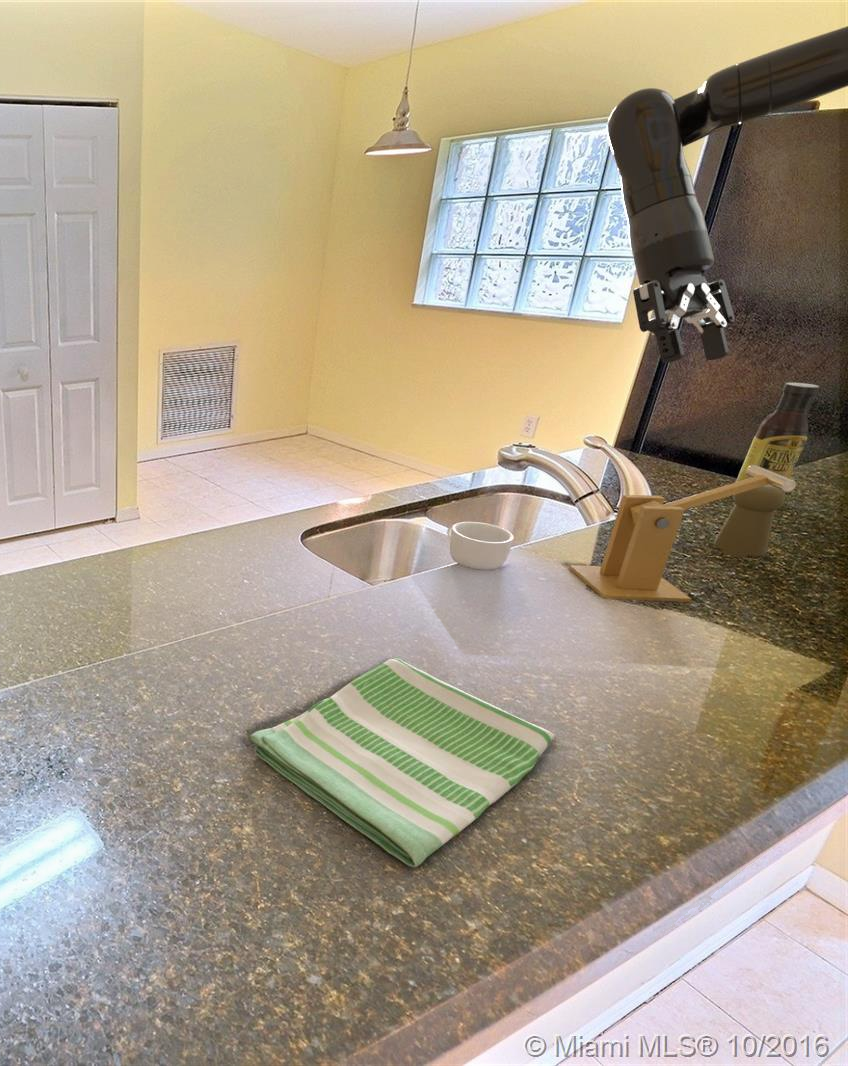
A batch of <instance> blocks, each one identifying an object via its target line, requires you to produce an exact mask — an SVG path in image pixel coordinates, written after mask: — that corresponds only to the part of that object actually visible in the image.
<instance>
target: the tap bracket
mask: <svg viewBox="0 0 848 1066" xmlns="http://www.w3.org/2000/svg"><path fill="white" fill-rule="evenodd" d="M654 500H655V501H657V502H658V503H660V504H662V505H664V502H665V500H666V498H665V497H663V496H662V495H645V494H644V495H643V494H642V495H641V494H635V495H634V494H623V495H622V497H621V500H620V503H619V507H618V510H617V513H616V517H615V519H614V523H613V526H612V530H611V533H610V536H609V538H608V543H607V546H606V548H605V549H606V550H605V553H604V556H603V559H602V563H601V566H600V565H577V564H576V565H575V564H570V565H569V567H568V569H569V570H570V571H571V572H572V573H573V574H574V575H576V576H577V577H578V578H579V579H581V580H582V581H583V582H584V583H585V584H586V585H587V586H589V587H590V588H591V589H592V590H593V591H594V592H595V593H596V594H598V595H599V596H600V597H601V598H602V599H605V600H606V599H608V600H609V599H610V600H633V601H653V602H654V601H657V602H678V603H679V602H680V603H691V601H692V598H691V597H690V596H688V595H687V594H686V593H684V592H683V591H681V590H680V589H679V588H678V587H676V586H674V585H673V584H672V583H671V582H669V580H666V579H665V578H663V574H664V572H665V569H666V566H667V563H668V560H669V557H670V554H671V551H672V549H673V546H674V543H675V540H676V536H677V534H678V531H679V528H680V525H681V523H682V519H683V516H684V513H685V511H686V510H685V509H683V508H681V507H667V506H641V508H640V511H639V515H638V518H637V521H636V524H634V523H633V518H632V514H631V509H630V508H631V507H635V506H638V505H641V504H644V503H647V502H651V501H654Z"/></svg>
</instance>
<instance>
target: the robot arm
mask: <svg viewBox="0 0 848 1066" xmlns="http://www.w3.org/2000/svg"><path fill="white" fill-rule="evenodd" d="M847 87H848V25H847V26H844V27H840V28H837V29H835V30H832V31H829V32H826V33H822V34H819V35H816V36H813V37H810V38H807V39H804V40H801V41H797V42H794V43H792V44H789V45H786V46H783V47H780V48H777V49H774V50H771V51H769V52H767V53H763V54H760V55H758V56H755V57H752V58H750V59H747V60H744V61H741V62H739V63H737V64H736V63H735V64H732V65H730V66H728V67H725V68H723V69H720V70H718V71H717V72H716V71H715V72H714V73H713V74H711V75H710V76H708V77H707V78H706V79H705V81H704V82H703V83H702V85H701V86H700V87H698V88H697V89H695V90H693V91H689V92H688V93H686V94H683V95H680V96H679V97H677V98H675V99H674V98H673V96H672V95H671V94H670V93H669V92H667V91H666V90H663V89H660V88H657V87H650V88H649V87H647V88H641V89H639V90H636V91H634V92H631V93H630V94H627V96H625V97H624V98H623V99H622V100H621V101H619V102H618V104H617V105H616V106H615V107H614V109H613V110H612V112H611V114H610V116H609V118H608V121H607V125H606V133H607V138H608V141H609V142H608V143H609V146H610V150H611V152H612V155H613V157H614V160H615V161H614V162H615V164H616V167H617V171H618V173H619V177H620V183H621V195H622V203H623V207H624V212H625V217H626V220H627V226H628V240H629V245H630V250H631V254H632V257H633V262H634V266H635V270H636V276H637V280H638V283H639V285H640V286H638V287H636V288H633V290H632V294H633V299H634V304H635V310H636V315H637V321H638V326H639V330H640V331H641V332H642V333H646V332H650V335H651V336H652V337H655V338H656V343H657V347H658V351H659V355H660V359H661V360H660V361H661V362H662V363H663V364H668V363H673V362H677V361H680V360H682V359H683V358H684V357H685V351H684V347H683V341H682V338H681V334H680V330H679V329H678V326H679V323H680V319H684V320H685V322H686V323H687V324H693V325H694V326H695V328H696V329H697V330H698V331H699V333H701V334H700V340H701V343H702V348H703V352H704V356H705V359H706V360H707V361H715V360H719V359H722V358H725V357H728V356H729V354H730V350H729V346H728V342H727V338H726V333H725V330H724V329H725V328H726V327H727V326H728V325H729V324H731V323H734V322H735V320H736V317H735V314H734V311H733V307H732V303H731V299H730V296H729V293H728V289H727V286H726V282H725V281H724V280H723V279H718V280H715V281H712V282H710V283H709V282H708V281H707V279H706V277H705V275H704V274H705V272H706V271H707V270H708V269H709V268H711V267H712V266H713V265H714V263H715V257H714V253H713V252H714V251H713V249H712V245H711V240H710V237H709V236H710V235H709V232H708V228H707V224H706V221H705V215H704V212H703V210H702V208H701V205H700V204H699V201H698V198H697V195H696V189H695V186H694V181H693V177H692V173H691V171H690V168H689V166H688V163H687V160H686V158H685V155H684V147H686V146H688V145H690V144H693V143H695V142H697V141H699V140H702V139H703V138H705V137H707V136H709V135H711V134H714V133H715V132H718V131H720V130H723V129H726V128H731V127H732V126H737V125H739V124H743V123H746V122H750V121H753V120H755V119H759V118H762V117H765V116H768V115H772V114H775V113H778V112H782V111H784V110H786V109H789V108H792V107H796V106H798V105H801V104H804V103H807V102H809V101H812V100H816V99H818V98H820V97H823V96H826V95H828V94H831V93H834V92H836V91H839V90H842V89H843V88H847ZM720 309H721V312H722V314H721V312H720ZM650 312H651V315H650V319H649V313H650ZM704 319H705V320H704Z"/></svg>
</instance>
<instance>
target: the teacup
mask: <svg viewBox="0 0 848 1066" xmlns="http://www.w3.org/2000/svg"><path fill="white" fill-rule="evenodd" d="M446 534H447V537H448V539H449V540H450V541H449V554H450V557H451V558H452V560H453V561H454V562H455V563H457V564H459V565H460V566H463V567H466V568H470V569H475V570H480V571H481V570H483V571H491V570H496V569H499V568H500V567H502V566H503V565H504V564H505V562H506V561H507V559H508V556H509V554H510V551H511V549H512V546H513V543H514V538H515V537H514V535H513V534H512V532H510V531H509V530H507V529H506V528H503V527H501V526H498V525H494V524H491V523H485V522H477V521H463V522H462V521H461V522H457V523H455V524H451V525H450V526H449V527H447V531H446Z"/></svg>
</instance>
